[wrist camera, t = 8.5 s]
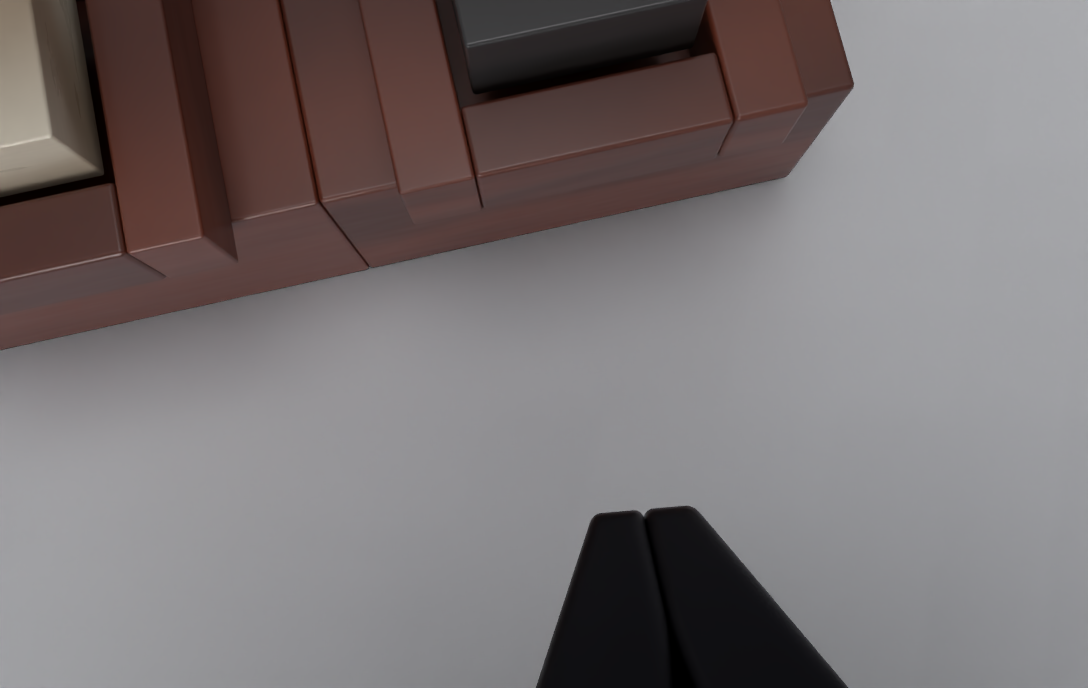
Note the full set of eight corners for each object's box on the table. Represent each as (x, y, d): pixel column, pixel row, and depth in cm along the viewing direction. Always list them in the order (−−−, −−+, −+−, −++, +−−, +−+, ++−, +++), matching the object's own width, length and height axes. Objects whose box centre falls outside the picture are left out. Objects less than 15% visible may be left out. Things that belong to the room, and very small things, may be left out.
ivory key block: (376, 301, 22) (301, 216, 15) (-56, 397, 22) (-326, 352, 15) (294, -100, 23) (193, -339, 17) (-111, -15, 23) (-381, -224, 16)
